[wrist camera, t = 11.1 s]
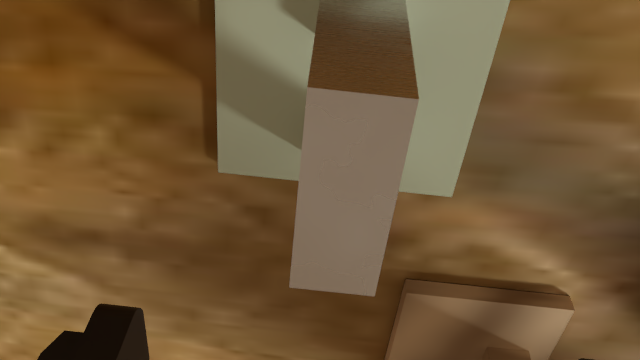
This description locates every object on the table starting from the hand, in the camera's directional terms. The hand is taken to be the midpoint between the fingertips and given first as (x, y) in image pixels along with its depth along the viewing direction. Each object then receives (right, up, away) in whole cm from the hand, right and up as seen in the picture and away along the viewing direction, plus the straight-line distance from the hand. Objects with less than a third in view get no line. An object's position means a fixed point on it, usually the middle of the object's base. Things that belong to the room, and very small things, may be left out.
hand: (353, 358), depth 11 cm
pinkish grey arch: (+1, +8, +14) cm, 16 cm away
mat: (+1, +8, +14) cm, 16 cm away
